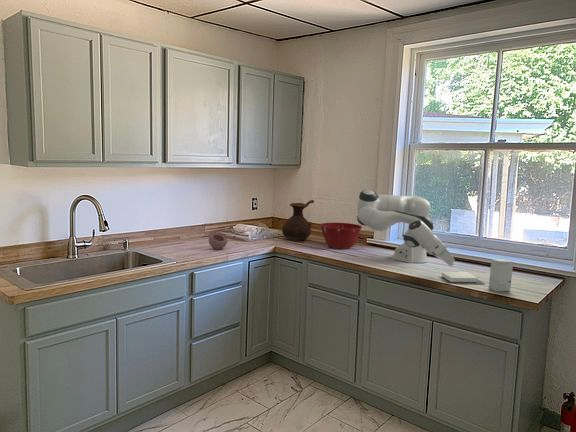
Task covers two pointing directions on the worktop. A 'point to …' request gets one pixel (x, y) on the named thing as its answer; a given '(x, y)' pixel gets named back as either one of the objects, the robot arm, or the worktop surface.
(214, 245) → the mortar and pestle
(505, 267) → the skincare box
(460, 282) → the mat
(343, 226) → the mixing bowl
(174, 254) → the worktop surface
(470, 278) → the tile
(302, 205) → the jug
